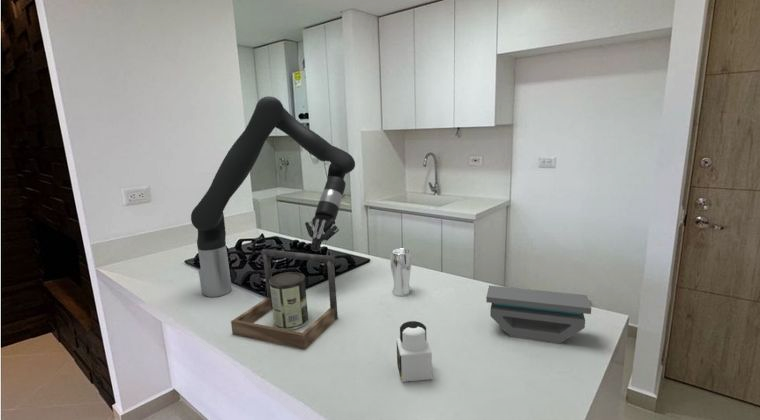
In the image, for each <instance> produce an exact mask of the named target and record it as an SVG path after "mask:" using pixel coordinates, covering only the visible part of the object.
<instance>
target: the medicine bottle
mask: <svg viewBox="0 0 760 420" xmlns="http://www.w3.org/2000/svg"><path fill="white" fill-rule="evenodd" d="M399 333H400V334H399V337H397V338H396V364H397V367H398V368H397V369H398V373H399V378H400V382H401V381H402V382H401V383H408V381H410V382H419V381H420V380H421V381H428V380H429V381H431V380H432V379H433V367H432V366H433V363H432V362H433V361H432V360H433V359H432V358H433V357H432V355H433V354H432V353H433V352H432V350H431V347H430V345H429V342H428V339H427V326H426V325H425V324H424V323H422V322H420V321H416V320H415V321H414V320H413V321H412V320H411V321H409V320H408V321H406V322H403V323H402V324H401V325H400V326H399ZM430 379H431V380H430ZM406 381H407V382H406Z"/></svg>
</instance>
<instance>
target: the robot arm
mask: <svg viewBox="0 0 760 420" xmlns="http://www.w3.org/2000/svg"><path fill="white" fill-rule="evenodd" d="M274 129H278V130H279V131H281V132H283V133H284V134H285V135H287V136H288V137H290V138H291V139H292V140H294V141H295V142H296V143H297V144H298V145H299V146H301V147H302V148H303V149H304V150H305V151H307V152H308V153H309V154H311V155H312V156H313V157H314V158H316V159H317V160H319V161H320V162H329V163H330V164H329V166H328V170H327V180H326V183H325V186H324V188H323V191H322V193H321V195H320V197H319V201H318V204H317V206H316V209H315V213H314V217H312V219H311V221H310V222H308V221H305V223H304V225H305V228H306V231H307V234H308V236H309V237H310V238H312V241H311V244H310V249H311V251H313V252H318V251H319V250H320V248H321V246H322V242H324V241H326V242H327V241H329V240H330V238H332V237H333V236H334V235H335V234H337V233H338V232H339V231H340V228H339V227H338V226H336V220H337V217H338V214H339V210H340V208H341V204H342V202H343V201H342V200H343V195H344V192H345V189H346V185H347V184H346V181H345V180H344V179H345V176H346V175H347V174H349V173H351V172H352V171H353V170H355V168H356V167H355V166H356V161H355V159H354V157H353V156H352V155H351V154H350V153H348V152H347V151H345V150H343V149H341V148H339V147H337V146H334V145H332V144H331V143H329V142H328V141H327V140H326V139H324V138H323V136H320V135H319V134H318V133H316V132H315V131H313V130H312V129H310V128H309V127H308V126H306V125H304V124H303V123H301V122H300V121H299V120H297V119H296V117H294V116H293V115H291V114H290V113H289V111H287V109H286V108H285V106H284V105H283V103H282V102H281V100H280V99H278V98H277V97H274V96H264V97H262V98H260V99H259V100H258V102H257V103H256V106H255V108H254V111H253V113H252V115H251V117H250V119H249V122H248V124H247V125H246V127H245V128H244V130H243V131H242V133H241V135H239V137H238V138H237V139H236V140H235V141H234V143H233V145H232V146H231V147H230V149H229V150H228V151H227V153H226V154H225V157H223V160H222V162H221V163H220V166H219V167H218V169H217V172H216V173H215V176H214V177H213V179H212V182H211V184H210V186H209V188H208V190H207V191H206V193H205V194H204V195H203V197H202V198H201V200H200V201H199V202H198V204H197V205H196V206H195V207H194V208H193V209H192V211H191V214H190V222H191V224H192V226H194V228H195V229H197V238H196V239H197V240H196V244H197V245H196V246H197V252H198V259H199V265H200V268H198V276H199V277H198V278H199V284H200V288H201V289H200V290H201V295H204V296H205V297H208V298H216V297H222V296H224V295H227V294H229V293H231V292H232V290H233V289H232V280H231V273H230V266H229V258H228V257H229V256H228V250H227V244H226V237H227V234H226V223H225V222H226V221H225V214H224V211H225V208H226V206H227V205H228V202H229V201H230V199H231V198H232V196H233V195H234V194H235V193H236V192H237V191H238V189H239V188H240V187H241V186H242V184H243V183H244V182H245V180H246V178H248V175H249V174H250V172H251V171H252V169H253V168H254V166H255V164H256V161H257V160H258V158H259V156H260V155H261V151H262V148H263V147H264V145H265V142H266V141H267V140H268V139H269V136H270V135H271V133H272V132H273V131H274Z"/></svg>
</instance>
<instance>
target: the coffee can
mask: <svg viewBox="0 0 760 420" xmlns="http://www.w3.org/2000/svg"><path fill="white" fill-rule="evenodd" d="M305 280H306V276H305V274H304V273H302V272H298V271H287V272H282V273H278V274H275V275H272V278H270V280H269V284H270V290H271V298H272V306H273V309H272V313H273V321H274V323H273V325H274V327H275V328H281V329H286V330H291V331H295V330H298V329H300V328H302V327H304V326H306V325H307V324H308V323H309V312H308V311H309V310H308V302H307V301H308V300H307V292H306V291H307V290H306V282H305Z"/></svg>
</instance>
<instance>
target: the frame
mask: <svg viewBox="0 0 760 420" xmlns="http://www.w3.org/2000/svg"><path fill="white" fill-rule="evenodd" d="M260 253H261V256H262V259H263V267H264V268H263V269H264V276H265V287H266V295H267V297H266V298H264V299H263V300H261V301H260V302H258V303H257V304H255V305H254V306H252V307H251V308H249V309H248V310H246V311H245V312H243V313H242V314H240V315H239V316H236V317H235V318H233V320H231V321H230V324H231V325H230V326H231V332H232V335H235V336H239V337H244V338H249V339H254V340H258V341H262V342H263V341H264V342H267V343H268V342H269V343H273V344H277V345H281V346H288V347H291V348H295V349H299V350H306V349H307V348H308V347H309V346H310V345H311V344H312V343H313V342H314V341H316V339H317V338H318V337H319V336H321V335H322V334H323V333H324V332H325V330H326V329H328V327H330V326H331V325H332V324H333V323H334V322H335V321H336V320H338V319H339V316H338V300H337V289H336V287H337V285H336V274H335V273H336V271H335V261H336V257H335V256H334V255H333V256H332V255H323V254H316V253H315V254H314V253H304V252H297V251H296V252H294V251H284V250H278V249H277V250H275V249H266V248H263V249H262V250H261V252H260ZM271 257H274V258H281V259H292V260H301V261H310V262H319V263H326V266H327V279H328V280H327V281H328V293H329V294H328V295H329V308H328V309H327V310H326V311H325V312H324V313H322V315H320V316H319V317H318V318H317V319H316V320H315V321H314V322H312V323H311V324H310V325H309V326H308V327H307V328H306V329H305V330H304V331H302V332H300V331H296V330H286V329H281V328H276V327H275V326H269V325H264V324H260V323H255V322H256V321H257V320H259V319H260V318H262V317H263V316H265V315H266V314H268V313H269V312H270V311H271V310H272V311H273V306H272V298H271V290H270V284H269V280H270V278H272V277H273V273H272V266H271V265H272V264H271Z"/></svg>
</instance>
